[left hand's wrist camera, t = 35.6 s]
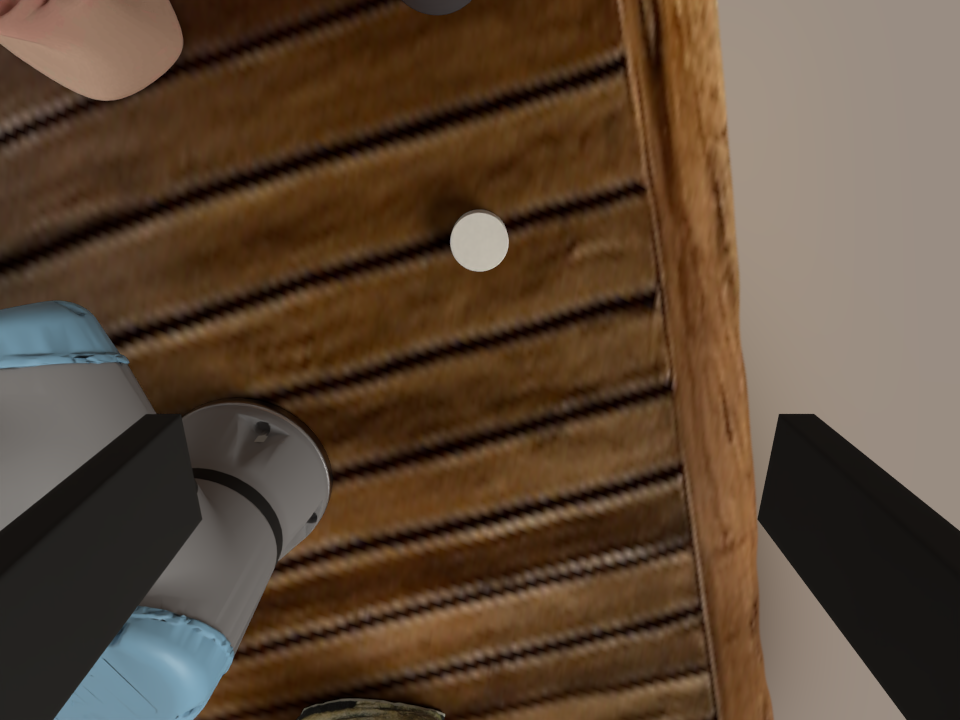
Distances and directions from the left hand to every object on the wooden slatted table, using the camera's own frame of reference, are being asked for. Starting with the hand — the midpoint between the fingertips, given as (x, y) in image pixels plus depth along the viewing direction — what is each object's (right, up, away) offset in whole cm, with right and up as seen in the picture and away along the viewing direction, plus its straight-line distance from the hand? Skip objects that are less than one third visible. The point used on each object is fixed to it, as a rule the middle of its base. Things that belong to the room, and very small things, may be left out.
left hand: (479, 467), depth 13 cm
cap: (0, +11, +30) cm, 32 cm away
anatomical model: (-28, +27, +27) cm, 47 cm away
